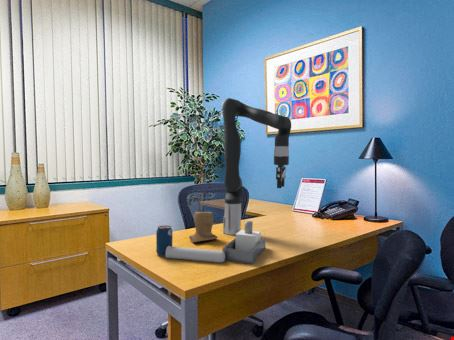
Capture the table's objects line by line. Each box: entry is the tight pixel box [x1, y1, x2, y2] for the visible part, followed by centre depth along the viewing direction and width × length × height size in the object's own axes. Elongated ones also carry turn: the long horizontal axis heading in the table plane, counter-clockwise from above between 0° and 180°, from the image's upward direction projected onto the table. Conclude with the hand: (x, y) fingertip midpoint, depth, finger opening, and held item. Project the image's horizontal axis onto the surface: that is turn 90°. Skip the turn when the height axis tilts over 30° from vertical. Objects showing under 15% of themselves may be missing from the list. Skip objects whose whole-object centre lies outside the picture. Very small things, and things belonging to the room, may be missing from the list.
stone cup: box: [188, 211, 219, 244], centre depth 158 cm, size 15×12×15 cm
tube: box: [165, 245, 225, 264], centre depth 128 cm, size 5×5×25 cm
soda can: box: [155, 225, 173, 257], centre depth 135 cm, size 7×7×12 cm
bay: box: [221, 237, 266, 265], centre depth 137 cm, size 13×24×5 cm, turn 161°
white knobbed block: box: [234, 220, 262, 251], centre depth 142 cm, size 10×9×12 cm
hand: (280, 187), depth 156 cm, fingers open, 8 cm apart
